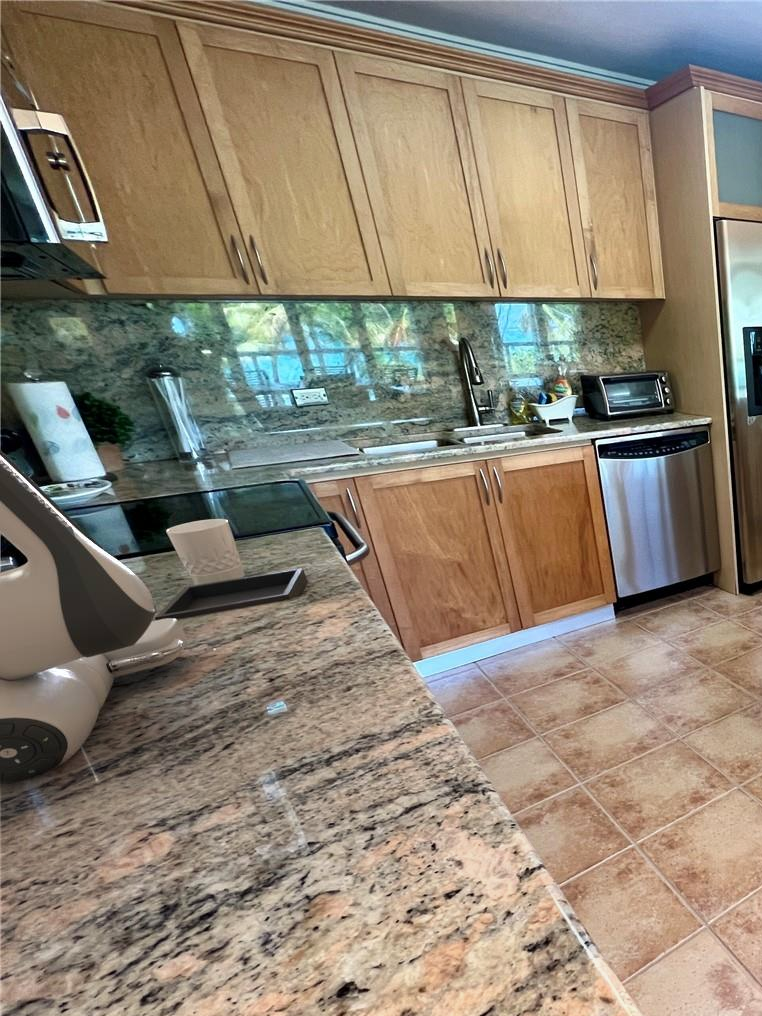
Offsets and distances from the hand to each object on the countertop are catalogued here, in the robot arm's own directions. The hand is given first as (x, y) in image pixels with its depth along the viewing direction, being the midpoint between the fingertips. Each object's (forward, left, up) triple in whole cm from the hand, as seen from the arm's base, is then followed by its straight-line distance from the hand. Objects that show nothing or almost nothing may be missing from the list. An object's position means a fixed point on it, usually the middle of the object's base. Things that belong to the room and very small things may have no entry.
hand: (79, 638), depth 78 cm
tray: (+11, +19, -5) cm, 22 cm away
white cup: (+5, +35, -5) cm, 36 cm away
